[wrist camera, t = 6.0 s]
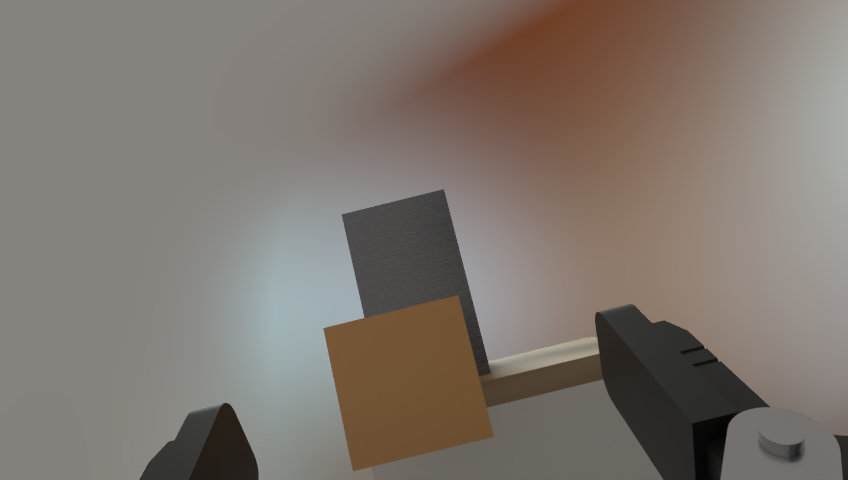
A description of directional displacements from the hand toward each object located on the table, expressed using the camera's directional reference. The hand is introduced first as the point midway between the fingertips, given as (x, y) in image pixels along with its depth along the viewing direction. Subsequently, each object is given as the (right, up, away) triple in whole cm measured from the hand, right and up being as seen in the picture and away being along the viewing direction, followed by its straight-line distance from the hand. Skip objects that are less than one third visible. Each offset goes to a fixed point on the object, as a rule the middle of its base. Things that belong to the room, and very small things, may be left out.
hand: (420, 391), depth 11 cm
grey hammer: (0, -2, +5) cm, 5 cm away
